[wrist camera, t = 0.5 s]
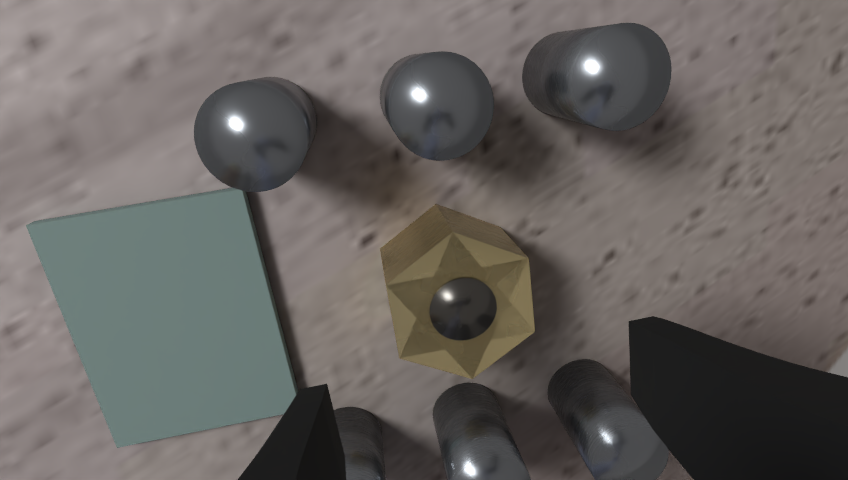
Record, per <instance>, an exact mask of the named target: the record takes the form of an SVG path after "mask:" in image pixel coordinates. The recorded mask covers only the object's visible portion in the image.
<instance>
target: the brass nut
mask: <svg viewBox="0 0 848 480" xmlns="http://www.w3.org/2000/svg"><path fill="white" fill-rule="evenodd" d="M380 251H381V258H382V264H383V270H384V276H385V282H386V288H387V293H388V299H389V304H390V310H391V315H392V320H393V326H394V331H395V337H396V342H397V348H398V353H399V358H400V359H403V360H407V361H410V362H414V363H417V364H421V365H425V366H428V367H432V368H435V369H439V370H442V371H446V372H449V373H453V374H457V375H460V376H464V377H467V378H471V379H473V378H474V377H476V376H477V375H478V374H480V373H481V372H482V371H484V370H485V369H486V368H488V367H489V366H490V365H492V364H493V363H494V362H496V361H497V360H498V359H499V358H501V357H502V356H503V355H505V354H506V353H507V352H509V351H510V350H511V349H513V348H514V347H515V346H517V345H518V344H519V343H521V342H522V341H523V340H525V339H526V338H527V337H529V336H530V335H531V334H533V333H534V332H535V326H534V315H533V303H532V291H531V280H530V268H529V258H528V257H527V256H526V255H525V254H524V253H523V252H522V251H521V249H520V248H519V247H518V246H517V245H516V244H515V243H514V242H513V241H512V240H511V238H510V237H509V236H508V235H507V234H506V233H505V232H504V231H503V230H502V229H501V227H499V226H496V225H493V224H490V223H487V222H485V221H482V220H479V219H476V218H473V217H471V216H468V215H465V214H462V213H460V212H457V211H454V210H451V209H448V208H446V207H443V206H440V205H437V204H435V205H434V206H433V207H431V208H430V209H429V210H428V211H427V212H425V213H424V214H423V215H422V216H420V217H419V218H418V219H417V220H415V221H414V222H413V223H412V224H410V225H409V226H408V227H407V228H405V229H404V230H403V231H402V232H400V233H399V234H398V235H397V236H395V237H394V238H393V239H392V240H390V241H389V242H388V243H387V244H385V245H384V246H383V247H382V248H380Z"/></svg>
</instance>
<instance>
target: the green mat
mask: <svg viewBox="0 0 848 480" xmlns="http://www.w3.org/2000/svg"><path fill="white" fill-rule="evenodd" d="M26 227H27V229H28V232H29V234H30V237H31V239H32V241H33V244H34V246H35V249H36V251H37V254H38V256H39V259H40V261H41V263H42V266H43V268H44V271H45V273H46V276H47V278H48V280H49V283H50V285H51V288H52V290H53V293H54V295H55V298H56V300H57V302H58V305H59V307H60V310H61V312H62V315H63V317H64V320H65V322H66V324H67V327H68V329H69V332H70V334H71V337H72V339H73V342H74V344H75V346H76V349H77V351H78V354H79V356H80V359H81V361H82V363H83V366H84V368H85V371H86V373H87V376H88V378H89V381H90V383H91V385H92V388H93V390H94V393H95V395H96V398H97V400H98V403H99V405H100V407H101V410H102V412H103V415H104V417H105V420H106V422H107V425H108V427H109V429H110V432H111V434H112V437H113V439H114V442H115V444H116V447H117V448H118V447H123V446H128V445H133V444H138V443H143V442H148V441H153V440H158V439H163V438H168V437H173V436H178V435H183V434H188V433H192V432H197V431H202V430H207V429H212V428H217V427H222V426H227V425H232V424H237V423H242V422H247V421H252V420H257V419H262V418H267V417H272V416H277V415H282V414H284V413H285V412H286V410H287V409H288V407H289V405H290V404H291V402H292V401H293V399H294V398H295V396H296V395H297V393H298V389H297V385H296V381H295V377H294V373H293V370H292V366H291V362H290V358H289V354H288V350H287V347H286V343H285V339H284V335H283V331H282V327H281V324H280V320H279V316H278V312H277V308H276V305H275V301H274V297H273V293H272V289H271V285H270V282H269V278H268V274H267V270H266V266H265V262H264V259H263V255H262V251H261V247H260V243H259V240H258V236H257V232H256V228H255V224H254V220H253V217H252V213H251V209H250V205H249V201H248V197H247V194H246V191H242V190H239V189H235V188H228V189H223V190H217V191H211V192H205V193H199V194H193V195H187V196H181V197H175V198H169V199H163V200H157V201H151V202H145V203H140V204H134V205H128V206H122V207H116V208H110V209H104V210H98V211H92V212H86V213H80V214H74V215H68V216H62V217H57V218H51V219H45V220H39V221H34V222H32V223H30V224H28V225H26Z"/></svg>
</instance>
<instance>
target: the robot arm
mask: <svg viewBox="0 0 848 480" xmlns="http://www.w3.org/2000/svg"><path fill="white" fill-rule="evenodd" d="M629 346H630V378H631V395H632V397H633V398H634V400H635V402H636V403H637V405H638V407H639V408H640V410H641V412H642V413H643V415H644V417H645V418H646V420H647V421H648V423H649V424H650V426H651V427H652V429H653V430H654V432H655V433H656V434H657V435H658V437H659V438H660V439H661V440H662V442H663V443H664V444H665V445H666V447H667V448H668V449H669V450H670V451H671V453H672V454H673V455H674V456H675V458H676V459H677V460H678V461H679V462H680V464H681V465H682V466H683V467H684V468H685V470H686V471H687V472H688V473H689V474H690V476H691V477H692V478H693V479H694V480H848V378H847V377H844V376H840V375H836V374H831V373H827V372H823V371H819V370H815V369H811V368H807V367H804V366H800V365H797V364H793V363H790V362H786V361H783V360H780V359H777V358H774V357H770V356H767V355H764V354H761V353H758V352H755V351H752V350H749V349H746V348H743V347H740V346H737V345H734V344H732V343H729V342H726V341H723V340H721V339H718V338H715V337H712V336H710V335H707V334H704V333H702V332H699V331H696V330H693V329H691V328H688V327H685V326H682V325H680V324H677V323H674V322H671V321H668V320H665V319H661V318H658V317H654V316H652V317H647V318H643V319H638V320H633V321H629ZM238 480H346V465H345V454H344V450H343V446H342V442H341V438H340V434H339V430H338V426H337V422H336V418H335V414H334V410H333V406H332V402H331V398H330V394H329V390H328V386H327V384H324V385H319V386H314V387H309V388H304V389H300V390H299V392H298V393H297V395H296V396H295V398H294V399H293V401H292V402H291V404H290V405H289V407H288V409H287V410H286V412H285V413H284V415H283V417H282V418H281V420H280V421H279V423H278V424H277V426H276V427H275V429H274V430H273V432H272V433H271V435H270V436H269V438H268V439H267V441H266V442H265V444H264V445H263V446H262V448H261V449H260V451H259V452H258V454H257V455H256V456H255V458H254V459H253V460H252V462H251V463H250V464H249V466H248V467H247V468H246V469H245V471H244V472H243V473H242V475H241V476H240V477H239V479H238Z"/></svg>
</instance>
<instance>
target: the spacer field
mask: <svg viewBox="0 0 848 480" xmlns="http://www.w3.org/2000/svg"><path fill="white" fill-rule="evenodd" d="M670 80H671V60H670V56H669V53H668V50H667V48H666V46H665V44H664V42H663V41H662V39H661V38H660V37H659V36H658V35H657V34H656V33H655V32H654V31H652V30H651V29H649V28H648V27H645V26H643V25H640V24H635V23H620V24H613V25H606V26H599V27H592V28H585V29H578V30H571V31H563V32H557V33H553V34H550V35H548V36H546V37H544V38H543V39H541V40H540V41H539V42H538V43H537V44H536V45H535V46H534V47H533V48H532V49H531V51H530V52H529V54H528V56H527V58H526V61H525V63H524V67H523V74H522V81H523V87H524V91H525V93H526V96H527V97H528V99H529V101H530V102H531V103H532V105H534V106H535V107H536V108H537V109H538V110H540V111H542V112H544V113H546V114H549V115H553V116H557V117H560V118H564V119H568V120H572V121H575V122H579V123H583V124H587V125H591V126H594V127H598V128H602V129H606V130H611V131H620V130H626V129H630V128H633V127H635V126H638V125H639V124H641V123H643V122H644V121H646V120H647V119H648V118H649V117H651V116H652V115H653V114H654V113H655V112H656V110H657V109H658V108H659V106H660V105H661V104H662V102H663V100H664V98H665V96H666V94H667V92H668V88H669V85H670ZM380 104H381V108H382V111H383V114H384V116H385V118H386V120H387V121H388V123H389V124H390V126H391V127H392V129H393V131H394V132H395V134H396V135H397V137H398V138H399V140H400V141H401V142H402V143H403V144H404V145H405V147H407V148H408V149H409V150H410V151H412V152H413V153H415V154H416V155H419V156H421V157H423V158H426V159H430V160H441V161H442V160H450V159H454V158H457V157H460V156H462V155H464V154H466V153H468V152H469V151H471V150H472V149H473V148H474V147H476V146H477V145H478V144H479V142H480V141H481V140H482V139H483V137H484V136H485V134H486V133H487V131H488V129H489V127H490V124H491V121H492V116H493V109H494V99H493V93H492V89H491V86H490V84H489V81H488V79H487V78H486V76H485V74H484V73H483V72H482V70H481V69H480V68H479V67H478V66H477V65H476V64H475V63H474V62H472V61H471V60H469V59H468V58H466V57H464V56H462V55H459V54H456V53H452V52H431V53H422V54H414V55H409V56H407V57H404V58H402V59H400V60H399V61H397V62H396V63H395V64H394V65H393V66H392V67H391V68H390V69H389V70H388V72H387V73H386V75H385V77H384V79H383V81H382V85H381V89H380ZM316 128H317V117H316V112H315V108H314V106H313V104H312V102H311V100H310V98H309V97H308V96H307V94H306V93H305V92H304V91H303V90H302V89H301V88H300V87H298V86H297V85H296V84H294V83H292V82H290V81H288V80H285V79H282V78H277V77H264V78H259V79H253V80H248V81H243V82H237V83H233V84H229V85H226V86H224V87H222V88H220V89H218V90H216V91H215V92H214V93H212V94H211V95H210V96H209V97H208V98H207V99H206V100H205V102H204V103H203V104H202V106H201V108H200V110H199V111H198V114H197V117H196V120H195V125H194V139H195V145H196V149H197V151H198V154H199V156H200V158H201V160H202V162H203V163H204V165H205V166H206V168H207V169H208V170H209V171H210V172H211V174H213V175H214V176H215V177H216V178H217V179H219V180H220V181H221V182H223V183H225V184H226V185H228V186H230V187H233V188H235V189H239V190H242V191H249V192H261V191H267V190H271V189H274V188H277V187H279V186H281V185H283V184H284V183H286V182H287V181H288V180H290V179H291V178H292V177H293V176H294V175H295V173H296V172H297V171H298V170H299V168H300V166H301V164H302V162H303V160H304V158H305V156H306V154H307V152H308V150H309V147H310V145H311V143H312V141H313V139H314V136H315V133H316ZM548 399H549V402H550V404H551V405H552V407H553V409H554V411H555V412H556V414H557V416H558V417H559V419H560V421H561V423H562V424H563V426H564V428H565V429H566V431H567V433H568V434H569V436H570V438H571V440H572V441H573V443H574V445H575V446H576V448H577V450H578V451H579V453H580V455H581V457H582V458H583V460H584V462H585V463H586V465H587V467H588V469H589V470H590V472H591V474H592V475H593V477H594V479H595V480H656V479H657V478H658V477H659V476H660V474H661V473H662V472H663V470H664V468H665V466H666V464H667V461H668V454H669V452H668V448H667V447H666V445H665V444H664V443H663V442H662V440H661V439H660V438H659V437H658V435H657V434H656V433H655V432H654V430H653V429H652V427H651V426H650V424H649V423H648V421H647V420H646V418H645V417H644V415H643V413H642V412H641V410H640V409H639V408H638V407H637V406H636V404H635V403H634V402H633V401H632V400H631V398H630V397H629V396H628V395H627V394H626V392H625V391H624V390H623V389H622V388H621V386H620V385H619V384H618V383H617V382H616V380H615V379H614V378H613V377H612V376H611V374H610V373H609V372H608V371H607V370H606V368H605V367H604V366H603V365H601V364H600V363H598V362H596V361H593V360H587V359H582V360H576V361H573V362H570V363H568V364H566V365H564V366H563V367H562V368H560V369H559V370H558V371H557V372H556V373H555V374H554V376H553V377H552V379H551V381H550V383H549V387H548ZM334 414H335V418H336V422H337V426H338V430H339V434H340V438H341V442H342V446H343V450H344V454H345V465H346V480H386V477H385V465H384V453H383V442H382V431H381V427H380V424H379V422H378V421H377V419H376V418H375V417H374V416H373V415H372V414H371V413H369V412H367V411H365V410H363V409H360V408H354V407H345V408H340V409H336V410H334ZM433 421H434V425H435V429H436V433H437V438H438V442H439V446H440V451H441V455H442V459H443V463H444V468H445V472H446V476H447V480H531V479H530V476H529V473H528V471H527V469H526V466H525V464H524V462H523V460H522V457H521V455H520V453H519V450H518V448H517V446H516V443H515V441H514V439H513V437H512V434H511V432H510V430H509V427H508V425H507V423H506V420H505V418H504V416H503V414H502V411H501V409H500V407H499V404H498V402H497V400H496V398H495V396H494V394H493V393H492V392H491V391H490V390H489V389H488V388H486V387H484V386H482V385H480V384H476V383H463V384H458V385H455V386H453V387H451V388H449V389H448V390H446V391H445V392H444V393H442V395H441V396H440V397H439V398H438V399H437V401H436V403H435V405H434V408H433Z"/></svg>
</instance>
